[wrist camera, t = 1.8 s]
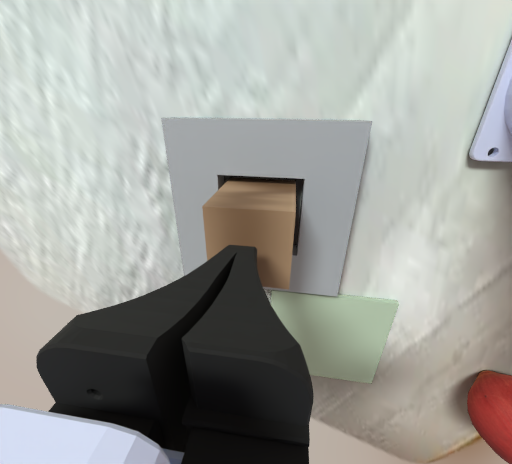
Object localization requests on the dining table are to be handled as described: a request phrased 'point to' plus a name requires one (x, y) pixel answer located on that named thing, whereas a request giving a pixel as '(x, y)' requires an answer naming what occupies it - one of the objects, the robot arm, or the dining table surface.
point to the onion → (493, 411)
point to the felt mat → (337, 331)
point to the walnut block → (255, 224)
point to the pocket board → (272, 165)
